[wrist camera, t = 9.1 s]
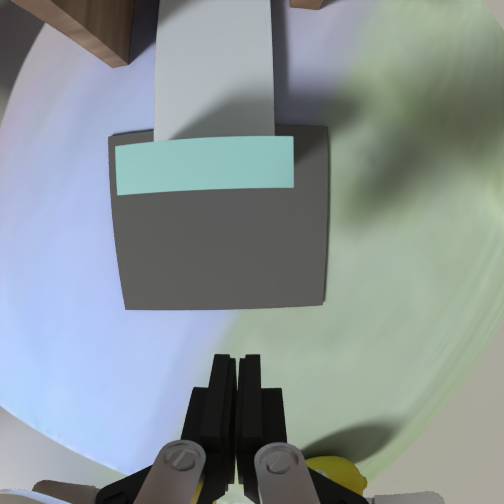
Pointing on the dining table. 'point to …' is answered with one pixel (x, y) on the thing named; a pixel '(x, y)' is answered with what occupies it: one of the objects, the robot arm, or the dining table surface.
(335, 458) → the lemon
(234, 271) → the mat
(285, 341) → the dining table surface
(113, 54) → the tunnel
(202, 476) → the robot arm
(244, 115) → the sled
